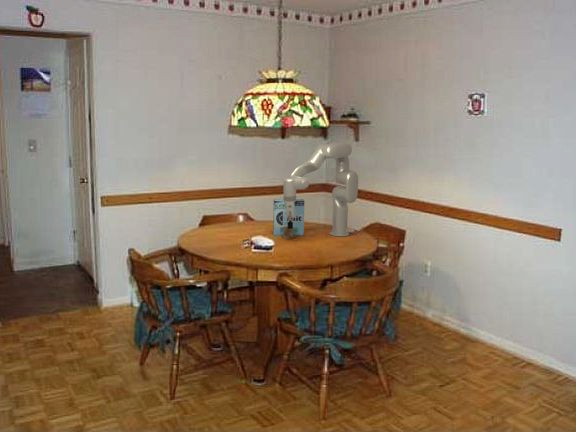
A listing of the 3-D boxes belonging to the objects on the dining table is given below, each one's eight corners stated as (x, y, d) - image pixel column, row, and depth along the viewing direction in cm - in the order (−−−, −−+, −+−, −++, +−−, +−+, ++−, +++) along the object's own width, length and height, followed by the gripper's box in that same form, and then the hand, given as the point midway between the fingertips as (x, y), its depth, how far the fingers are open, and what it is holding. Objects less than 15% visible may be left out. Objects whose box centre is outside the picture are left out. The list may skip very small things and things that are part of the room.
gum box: (302, 234, 378) (303, 199, 374) (303, 235, 373) (304, 200, 369) (272, 234, 376) (273, 199, 372) (273, 235, 371) (274, 200, 367)
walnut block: (292, 236, 372) (293, 227, 371) (292, 239, 363) (293, 229, 362) (283, 236, 372) (283, 226, 371) (283, 239, 363) (283, 229, 362)
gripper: (296, 200, 342) (296, 231, 346) (296, 196, 357) (296, 225, 361) (283, 200, 342) (283, 231, 346) (283, 196, 357) (284, 225, 361)
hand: (290, 228), depth 353 cm, fingers closed
